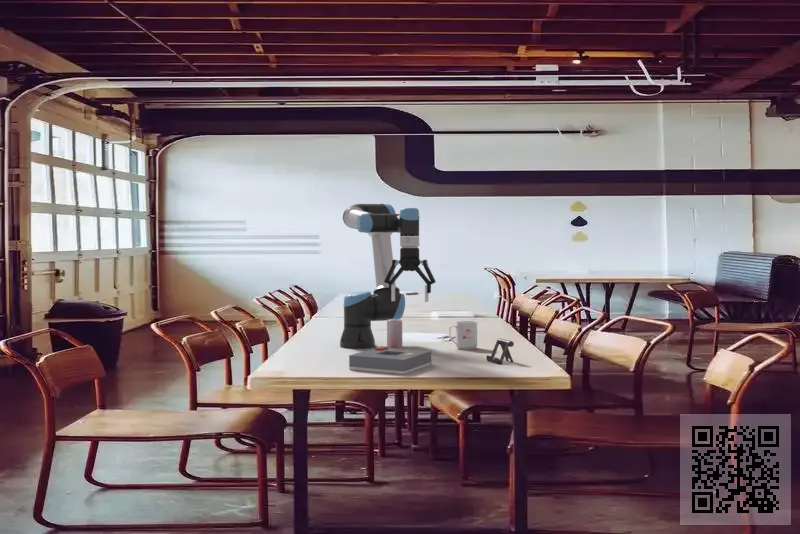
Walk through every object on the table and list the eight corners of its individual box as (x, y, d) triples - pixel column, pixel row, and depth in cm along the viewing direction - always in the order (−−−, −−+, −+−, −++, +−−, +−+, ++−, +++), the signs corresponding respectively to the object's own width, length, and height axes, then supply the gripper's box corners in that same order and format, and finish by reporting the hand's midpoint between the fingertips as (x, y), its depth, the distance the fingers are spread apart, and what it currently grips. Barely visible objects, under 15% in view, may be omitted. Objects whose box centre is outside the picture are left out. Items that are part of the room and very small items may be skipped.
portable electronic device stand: (486, 361, 285) (486, 339, 285) (503, 359, 288) (503, 338, 288) (498, 364, 277) (498, 342, 277) (516, 363, 280) (516, 340, 280)
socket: (349, 369, 268) (349, 353, 268) (379, 360, 288) (379, 345, 287) (404, 374, 258) (403, 357, 258) (431, 364, 277) (431, 348, 277)
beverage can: (386, 357, 295) (386, 319, 294) (401, 356, 296) (401, 318, 295) (387, 359, 289) (387, 320, 289) (403, 359, 290) (402, 320, 289)
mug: (474, 346, 322) (474, 320, 322) (479, 349, 313) (479, 323, 313) (446, 347, 320) (446, 321, 320) (451, 350, 312) (451, 323, 311)
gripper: (376, 247, 294) (376, 301, 295) (438, 247, 288) (438, 302, 288) (382, 247, 302) (382, 299, 302) (442, 247, 295) (442, 301, 296)
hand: (409, 301), depth 295 cm, fingers open, 13 cm apart
